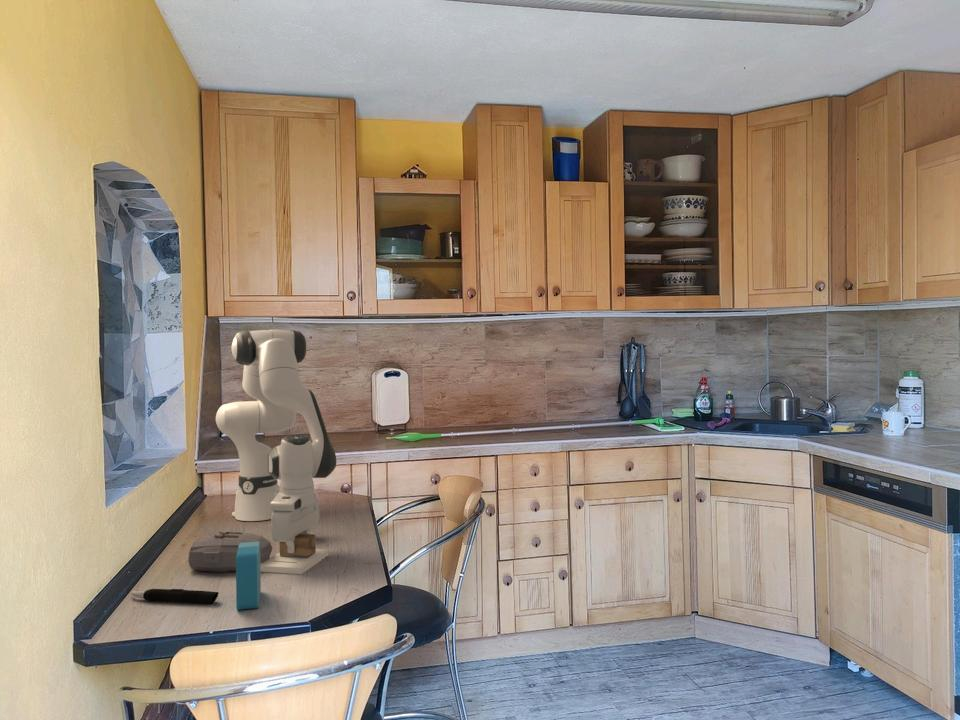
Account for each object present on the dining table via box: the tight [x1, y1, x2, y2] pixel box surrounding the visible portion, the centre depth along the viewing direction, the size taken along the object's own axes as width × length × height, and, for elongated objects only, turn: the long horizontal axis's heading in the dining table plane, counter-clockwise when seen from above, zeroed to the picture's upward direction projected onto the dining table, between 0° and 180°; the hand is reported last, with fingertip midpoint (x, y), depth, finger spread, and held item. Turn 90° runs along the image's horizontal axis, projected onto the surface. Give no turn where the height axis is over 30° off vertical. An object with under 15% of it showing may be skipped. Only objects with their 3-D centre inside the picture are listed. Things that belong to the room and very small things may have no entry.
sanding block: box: [279, 533, 317, 558], centre depth 179 cm, size 4×8×5 cm, turn 78°
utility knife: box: [131, 588, 219, 605], centre depth 151 cm, size 22×4×3 cm, turn 82°
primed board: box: [260, 548, 330, 575], centre depth 177 cm, size 16×12×2 cm
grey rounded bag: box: [188, 531, 273, 573], centre depth 176 cm, size 15×8×20 cm
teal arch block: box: [235, 542, 262, 611], centre depth 150 cm, size 12×4×12 cm, turn 16°
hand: (297, 549), depth 179 cm, fingers closed on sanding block, 4 cm apart
